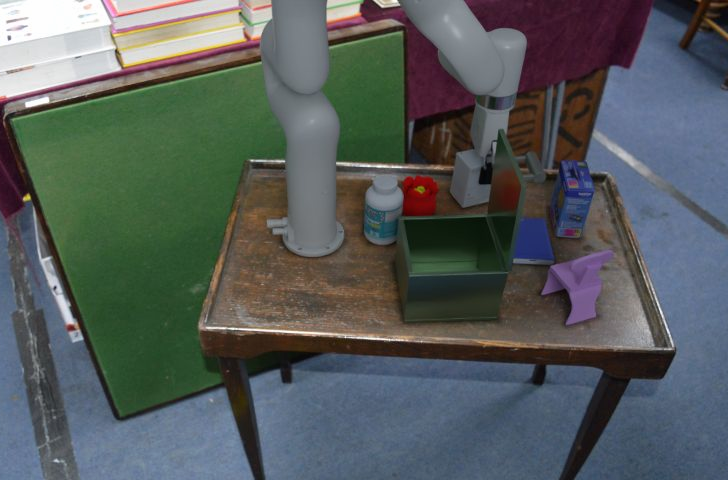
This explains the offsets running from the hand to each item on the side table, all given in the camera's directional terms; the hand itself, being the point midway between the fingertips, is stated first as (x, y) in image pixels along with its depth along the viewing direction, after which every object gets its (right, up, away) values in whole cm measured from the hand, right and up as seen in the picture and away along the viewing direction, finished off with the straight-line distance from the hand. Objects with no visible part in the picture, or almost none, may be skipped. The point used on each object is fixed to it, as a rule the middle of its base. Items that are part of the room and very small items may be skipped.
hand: (482, 171), depth 139 cm
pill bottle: (-22, -14, -4) cm, 26 cm away
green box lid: (-4, -10, -30) cm, 32 cm away
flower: (-14, -9, 0) cm, 17 cm away
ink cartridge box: (+16, -11, -2) cm, 20 cm away
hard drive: (+8, -16, -7) cm, 19 cm away
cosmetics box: (0, -5, +5) cm, 7 cm away
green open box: (-11, -25, -16) cm, 32 cm away
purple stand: (+11, -28, -19) cm, 35 cm away
